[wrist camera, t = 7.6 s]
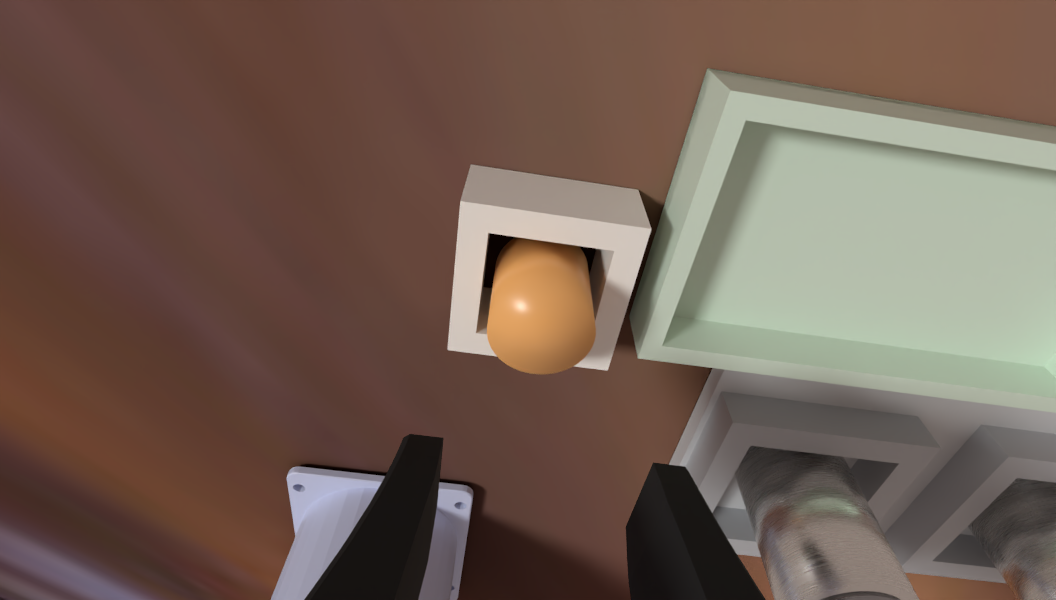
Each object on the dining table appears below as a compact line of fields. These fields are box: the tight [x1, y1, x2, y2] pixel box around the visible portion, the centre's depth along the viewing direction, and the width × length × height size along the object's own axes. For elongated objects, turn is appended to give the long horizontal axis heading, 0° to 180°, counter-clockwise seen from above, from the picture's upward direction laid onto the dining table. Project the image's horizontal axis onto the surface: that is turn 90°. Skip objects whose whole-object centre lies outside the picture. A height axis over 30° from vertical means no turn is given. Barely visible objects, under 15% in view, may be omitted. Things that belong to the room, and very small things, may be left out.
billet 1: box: [735, 446, 919, 600], centre depth 20 cm, size 4×4×6 cm
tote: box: [629, 68, 1056, 413], centre depth 17 cm, size 8×15×2 cm, turn 81°
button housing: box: [448, 165, 651, 371], centre depth 17 cm, size 5×5×2 cm
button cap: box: [487, 237, 596, 374], centre depth 16 cm, size 3×3×3 cm
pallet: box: [669, 368, 1056, 583], centre depth 23 cm, size 10×18×2 cm, turn 81°
